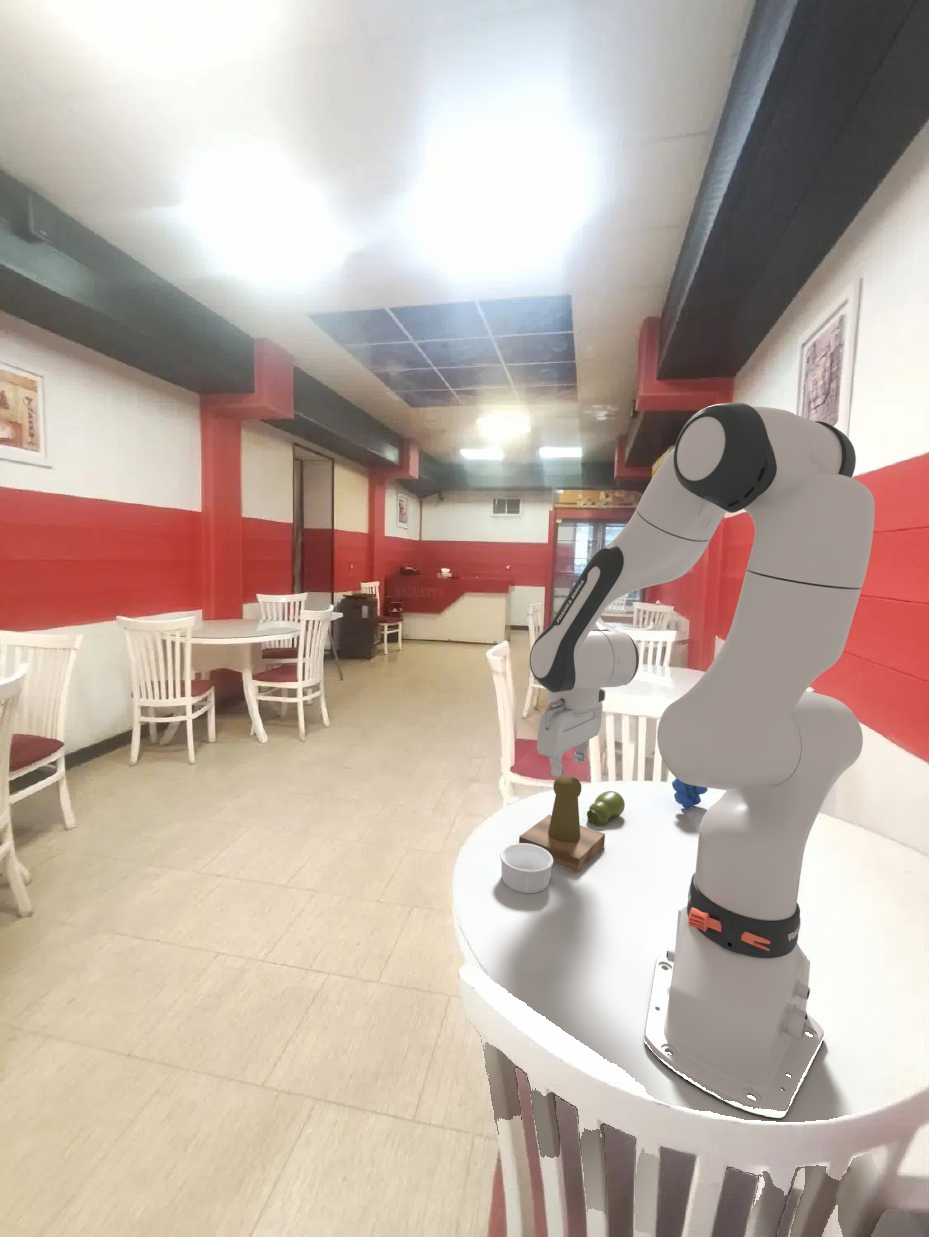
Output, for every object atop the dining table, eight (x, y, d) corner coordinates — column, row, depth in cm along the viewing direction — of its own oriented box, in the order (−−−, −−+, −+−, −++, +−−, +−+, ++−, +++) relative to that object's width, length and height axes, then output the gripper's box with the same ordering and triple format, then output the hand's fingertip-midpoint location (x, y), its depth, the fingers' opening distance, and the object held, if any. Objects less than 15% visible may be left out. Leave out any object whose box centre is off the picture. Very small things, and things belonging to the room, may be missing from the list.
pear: (629, 792, 117) (602, 812, 110) (629, 814, 118) (602, 835, 111) (607, 783, 121) (580, 802, 114) (608, 805, 122) (580, 824, 115)
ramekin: (560, 892, 88) (562, 867, 88) (509, 899, 86) (511, 873, 85) (538, 863, 97) (540, 840, 96) (491, 869, 94) (493, 845, 94)
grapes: (690, 822, 116) (695, 768, 115) (662, 810, 121) (666, 758, 120) (719, 810, 123) (723, 759, 122) (691, 799, 128) (695, 750, 127)
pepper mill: (579, 828, 105) (583, 774, 104) (581, 844, 99) (585, 786, 98) (548, 825, 106) (551, 770, 105) (548, 840, 100) (551, 782, 99)
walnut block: (578, 872, 94) (579, 859, 94) (518, 849, 101) (519, 836, 101) (604, 846, 104) (605, 833, 104) (548, 826, 111) (548, 814, 111)
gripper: (563, 707, 90) (559, 788, 91) (609, 690, 106) (605, 759, 107) (529, 701, 93) (526, 779, 94) (579, 685, 110) (575, 752, 111)
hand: (568, 768), depth 101 cm, fingers open, 8 cm apart
